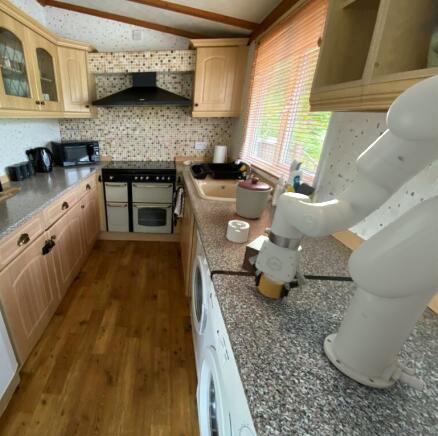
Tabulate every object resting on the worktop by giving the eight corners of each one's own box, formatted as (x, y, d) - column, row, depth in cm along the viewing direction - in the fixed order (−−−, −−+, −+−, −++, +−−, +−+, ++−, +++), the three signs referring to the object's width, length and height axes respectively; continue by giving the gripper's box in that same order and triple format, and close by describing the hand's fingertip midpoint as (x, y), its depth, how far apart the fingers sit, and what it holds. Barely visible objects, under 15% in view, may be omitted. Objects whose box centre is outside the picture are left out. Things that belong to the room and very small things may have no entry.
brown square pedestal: (295, 271, 85) (302, 249, 82) (283, 286, 78) (289, 262, 74) (256, 255, 95) (261, 235, 91) (242, 267, 87) (246, 245, 84)
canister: (224, 212, 137) (229, 175, 129) (247, 207, 145) (254, 172, 136) (248, 224, 122) (256, 183, 114) (273, 218, 129) (282, 179, 121)
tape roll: (285, 291, 73) (289, 278, 71) (277, 301, 69) (281, 288, 67) (263, 280, 77) (266, 268, 75) (254, 290, 73) (257, 277, 71)
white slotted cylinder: (246, 244, 103) (249, 230, 100) (225, 240, 106) (227, 226, 103) (248, 226, 120) (250, 213, 117) (230, 223, 123) (231, 211, 120)
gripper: (247, 231, 69) (237, 282, 76) (316, 256, 58) (297, 313, 65) (258, 224, 74) (248, 272, 81) (325, 245, 62) (306, 299, 70)
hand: (270, 290), depth 73 cm, fingers closed on tape roll, 6 cm apart
